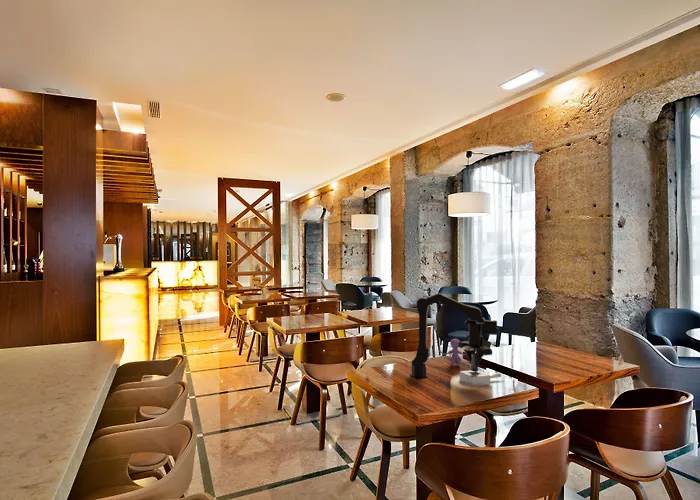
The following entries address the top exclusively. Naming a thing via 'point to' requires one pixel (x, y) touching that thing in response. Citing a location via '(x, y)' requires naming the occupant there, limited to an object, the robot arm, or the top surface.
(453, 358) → the toy
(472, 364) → the dark metal cylinder
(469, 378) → the grey holed paddle
